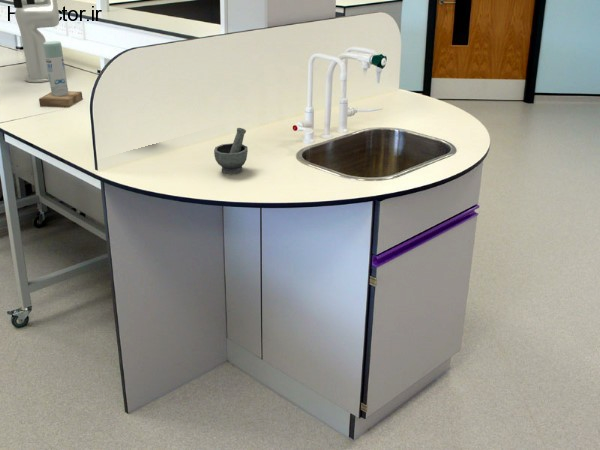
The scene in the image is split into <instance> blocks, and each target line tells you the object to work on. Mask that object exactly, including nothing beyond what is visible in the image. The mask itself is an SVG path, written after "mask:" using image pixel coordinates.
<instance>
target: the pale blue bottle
mask: <svg viewBox="0 0 600 450" xmlns="http://www.w3.org/2000/svg"><path fill="white" fill-rule="evenodd" d="M43 47H44V53H45V58H46V64H47V70H48V75H49V81H48V82H49V86H50V92H52V96H55V97H60V96H66V95H68V91H69V88H68V81H67V74H66V68H65V67H66V66H65V60H64V55H63V47H62V43H61V41H59V40H52V41H46V42H44V43H43Z"/></svg>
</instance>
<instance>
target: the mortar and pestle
mask: <svg viewBox="0 0 600 450" xmlns="http://www.w3.org/2000/svg"><path fill="white" fill-rule="evenodd" d="M246 132H247V130H246V129H245V128H242V127H237V128H236V134H235V137H234V140H233V142H231V143H224V144H223V143H222V144H220V145H217V146H215V148H214V152H213V154H214V159H215V161H216V163H217V164H218V165H219V166H220V167H221V173H222V174H224V175H228V176H229V175H230V176H231V175H239V174H241V173H243V166H244V165H245V163H246V161H247V159H248V152H249V151H248V150H249V149H248V146H247V145H245V144H243V142H244V138H245V134H246Z"/></svg>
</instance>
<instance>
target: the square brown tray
mask: <svg viewBox="0 0 600 450" xmlns="http://www.w3.org/2000/svg"><path fill="white" fill-rule="evenodd" d="M83 99H84V98H83V93H82V91H73V90H70V91H69V90H68V95H66V96H60V97H55V96H52V92H51V91H50V92H49V93H47V94H45V95H43V96H41V97H39V98H38V103H39V106H40V107H42V108H43V107H44V108H46V107H47V108H49V107H50V108H71V107H72V106H74V105H76V104H77V103H79V102H80V101H82V100H83Z"/></svg>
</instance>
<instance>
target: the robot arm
mask: <svg viewBox="0 0 600 450" xmlns="http://www.w3.org/2000/svg"><path fill="white" fill-rule="evenodd" d="M12 1H13V2H12V3H13V8H14V9H15V11H14V16H15V20H16V23H17V26H18V28H19V33H20V38H21V44H22V48H23V53H24V54H23V55H24V58H25V65H26V70H27V75H26V77H24V81H26V82H28V83H45V82H50V81H49V75H48V70H47V64H46V58H45V53H44V47H43V43H44V42H47V41H46V37H45V36H44V35H43V33H42V32H41V31H40V30H39V29H42V28H55V27H58V25H59V24H60V13H59V7H58V1H57V0H12Z"/></svg>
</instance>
